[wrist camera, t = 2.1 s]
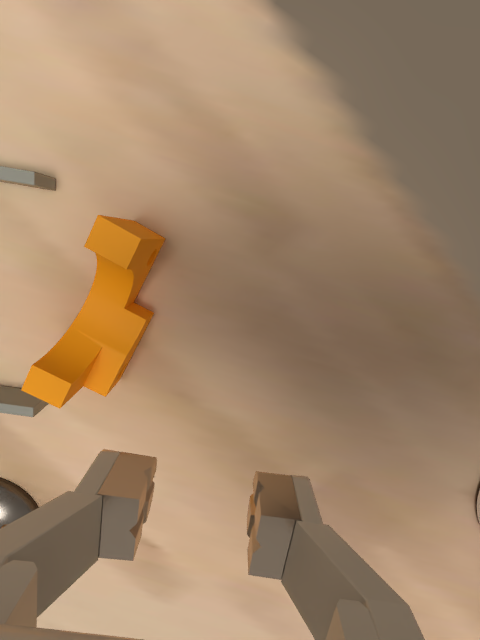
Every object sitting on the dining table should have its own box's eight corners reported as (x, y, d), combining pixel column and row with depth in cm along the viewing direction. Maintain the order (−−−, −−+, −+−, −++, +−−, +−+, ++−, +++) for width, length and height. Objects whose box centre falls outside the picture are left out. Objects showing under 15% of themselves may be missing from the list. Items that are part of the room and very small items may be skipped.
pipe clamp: (120, 378, 27) (85, 420, 21) (72, 354, 27) (20, 390, 20) (186, 250, 25) (169, 254, 18) (134, 220, 24) (98, 214, 18)
